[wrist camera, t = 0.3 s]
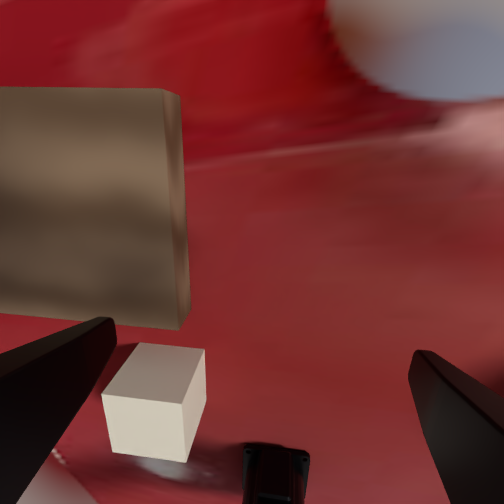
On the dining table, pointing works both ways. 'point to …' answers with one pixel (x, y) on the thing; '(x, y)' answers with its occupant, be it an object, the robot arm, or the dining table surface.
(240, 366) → the dining table surface
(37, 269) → the walnut base
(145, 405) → the cream cube
